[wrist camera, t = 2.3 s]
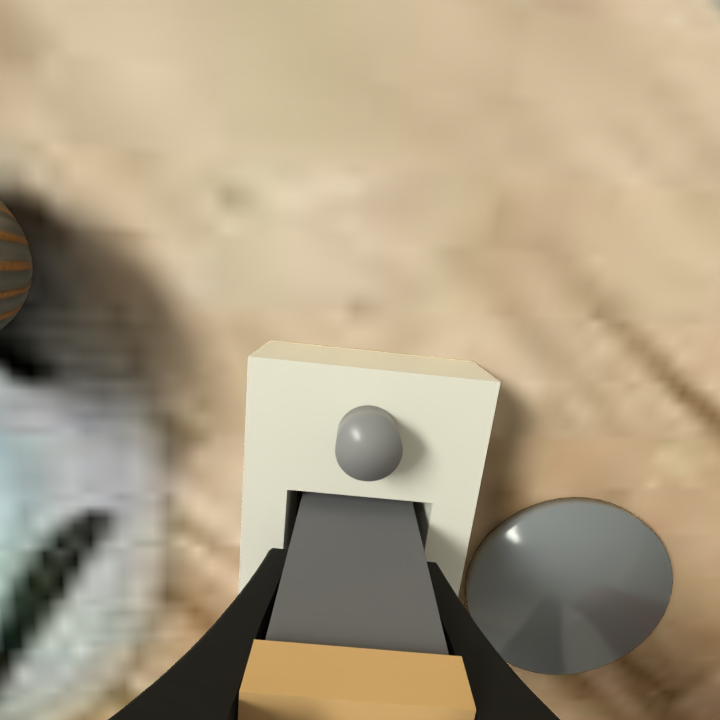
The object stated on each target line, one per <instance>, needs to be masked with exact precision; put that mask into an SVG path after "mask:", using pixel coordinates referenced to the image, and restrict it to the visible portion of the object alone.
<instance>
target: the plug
mask: <svg viewBox="0 0 720 720" xmlns="http://www.w3.org/2000/svg"><path fill="white" fill-rule="evenodd" d="M475 714H476V707H475V703H474V700H473V696H472V692H471V689H470V685H469V681H468V678H467V674H466V670H465V667H464V663H463V659H462V656H452V655H449V653H448V649H447V645H446V640H445V636H444V632H443V628H442V624H441V620H440V615H439V611H438V607H437V603H436V599H435V595H434V590H433V586H432V582H431V578H430V574H429V569H428V565H427V561H426V557H425V553H424V549H423V544H422V540H421V536H420V532H419V528H418V524H417V519H416V515H415V511H414V507H413V503H412V501H404V500H394V499H383V498H372V497H361V496H350V495H340V494H329V493H318V492H307V491H303V494H302V498H301V502H300V506H299V510H298V514H297V518H296V522H295V525H294V529H293V533H292V537H291V541H290V545H289V549H288V553H287V557H286V561H285V565H284V569H283V572H282V576H281V580H280V584H279V588H278V592H277V596H276V600H275V604H274V608H273V612H272V615H271V619H270V623H269V627H268V631H267V635H266V639H265V640H256V639H254V642H253V645H252V649H251V652H250V656H249V659H248V663H247V666H246V669H245V673H244V676H243V680H242V683H241V687H240V690H239V705H238V720H474V718H475Z"/></svg>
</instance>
